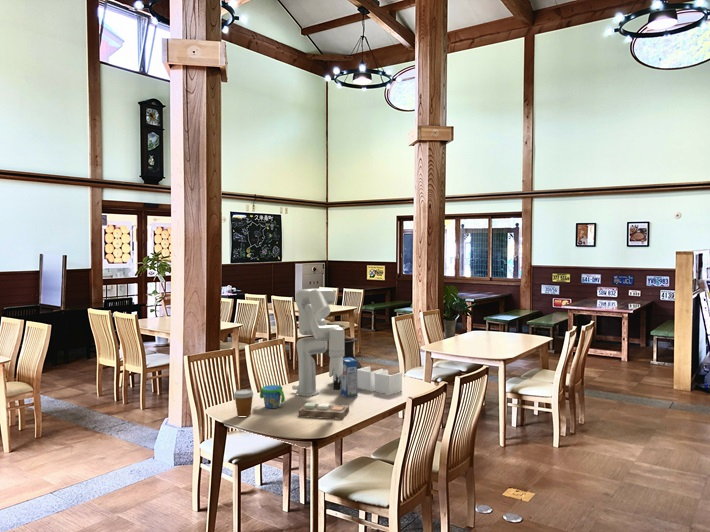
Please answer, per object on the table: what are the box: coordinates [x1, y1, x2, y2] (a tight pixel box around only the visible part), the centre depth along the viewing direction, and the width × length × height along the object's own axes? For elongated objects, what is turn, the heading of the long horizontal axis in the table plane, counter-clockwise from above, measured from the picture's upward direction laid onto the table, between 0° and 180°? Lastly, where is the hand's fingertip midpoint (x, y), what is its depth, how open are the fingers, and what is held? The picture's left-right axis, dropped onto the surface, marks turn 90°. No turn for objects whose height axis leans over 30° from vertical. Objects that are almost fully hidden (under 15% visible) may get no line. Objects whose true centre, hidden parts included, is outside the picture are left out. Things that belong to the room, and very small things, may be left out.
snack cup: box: [259, 384, 286, 409], centre depth 282 cm, size 16×10×10 cm
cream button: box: [318, 402, 331, 410], centre depth 268 cm, size 5×5×3 cm
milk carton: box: [340, 357, 359, 399], centre depth 302 cm, size 10×6×20 cm, turn 22°
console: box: [297, 403, 350, 420], centre depth 268 cm, size 23×12×3 cm, turn 77°
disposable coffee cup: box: [233, 388, 254, 417], centre depth 267 cm, size 10×10×12 cm
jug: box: [339, 333, 363, 385], centre depth 332 cm, size 21×18×30 cm
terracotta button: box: [331, 406, 344, 411], centre depth 267 cm, size 5×5×3 cm
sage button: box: [303, 402, 318, 409], centre depth 270 cm, size 5×5×3 cm
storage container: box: [357, 366, 403, 396], centre depth 314 cm, size 25×11×11 cm, turn 46°
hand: (336, 389), depth 267 cm, fingers closed
